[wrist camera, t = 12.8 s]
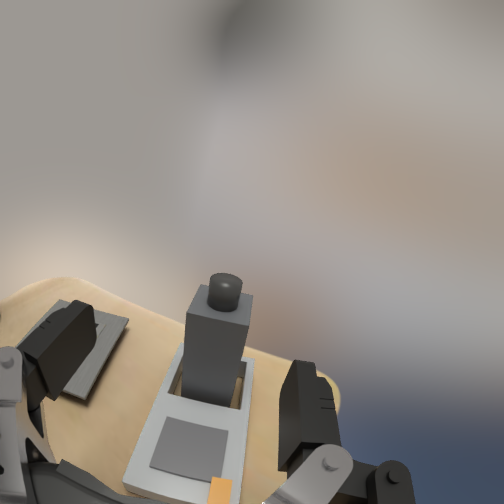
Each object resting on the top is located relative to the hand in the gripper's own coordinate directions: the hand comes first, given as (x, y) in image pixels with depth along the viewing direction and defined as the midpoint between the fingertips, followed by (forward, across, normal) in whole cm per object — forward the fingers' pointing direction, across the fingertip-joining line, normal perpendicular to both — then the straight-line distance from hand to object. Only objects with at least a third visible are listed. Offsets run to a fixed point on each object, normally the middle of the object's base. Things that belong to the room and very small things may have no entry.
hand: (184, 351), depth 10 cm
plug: (+10, -1, +15) cm, 19 cm away
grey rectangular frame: (+6, -1, +15) cm, 16 cm away
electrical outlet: (+10, +15, +16) cm, 25 cm away
